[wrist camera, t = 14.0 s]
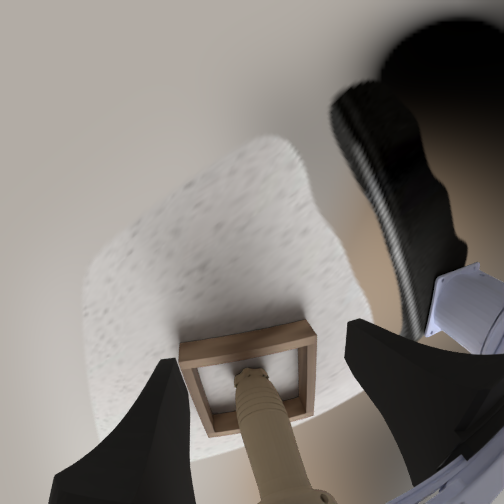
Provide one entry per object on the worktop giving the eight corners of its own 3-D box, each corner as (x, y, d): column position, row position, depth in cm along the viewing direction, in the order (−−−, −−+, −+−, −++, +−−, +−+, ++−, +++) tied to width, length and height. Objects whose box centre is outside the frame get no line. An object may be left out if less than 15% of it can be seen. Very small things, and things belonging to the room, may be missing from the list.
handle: (242, 345, 22) (293, 510, 8) (291, 374, 24) (354, 505, 10) (207, 378, 23) (229, 532, 9) (257, 403, 25) (298, 531, 11)
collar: (305, 319, 23) (319, 339, 20) (305, 399, 26) (315, 419, 23) (179, 343, 21) (178, 367, 18) (206, 420, 25) (209, 442, 22)
